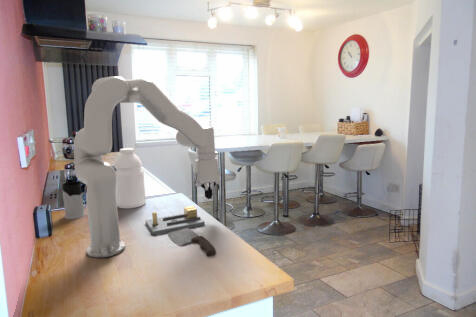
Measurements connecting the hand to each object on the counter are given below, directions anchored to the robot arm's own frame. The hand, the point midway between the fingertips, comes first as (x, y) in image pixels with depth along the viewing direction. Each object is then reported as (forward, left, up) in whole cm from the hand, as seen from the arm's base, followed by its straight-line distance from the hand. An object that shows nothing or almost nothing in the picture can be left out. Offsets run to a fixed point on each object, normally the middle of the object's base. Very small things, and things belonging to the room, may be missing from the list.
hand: (208, 198), depth 150 cm
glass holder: (+35, +50, -9) cm, 61 cm away
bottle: (+38, +27, -9) cm, 47 cm away
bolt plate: (0, +16, -9) cm, 18 cm away
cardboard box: (0, +9, -7) cm, 11 cm away
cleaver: (-20, +15, -10) cm, 27 cm away
